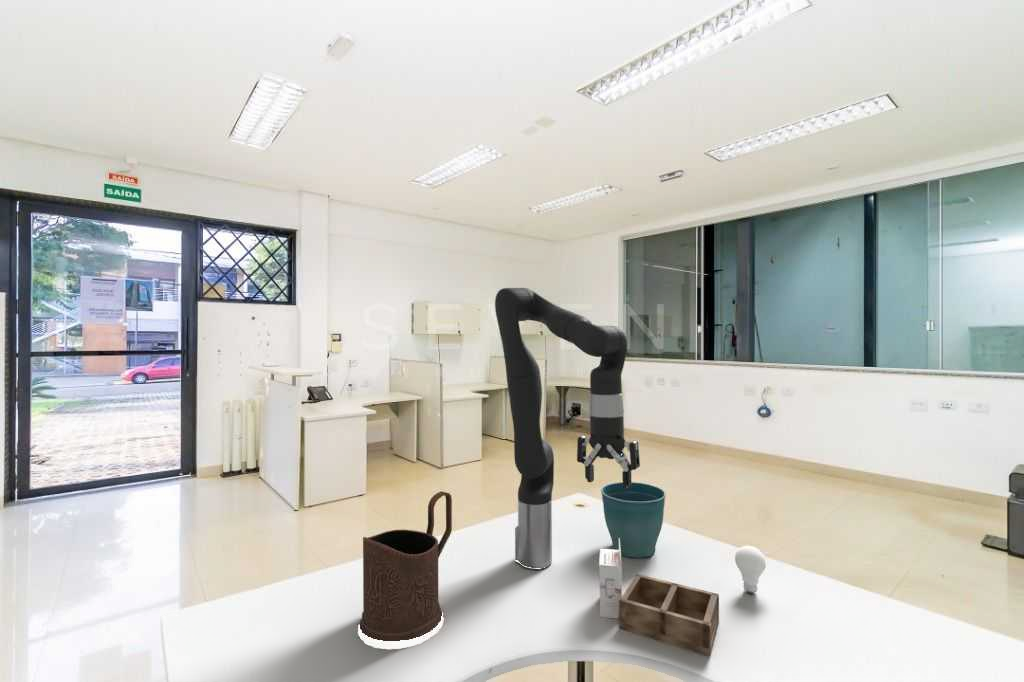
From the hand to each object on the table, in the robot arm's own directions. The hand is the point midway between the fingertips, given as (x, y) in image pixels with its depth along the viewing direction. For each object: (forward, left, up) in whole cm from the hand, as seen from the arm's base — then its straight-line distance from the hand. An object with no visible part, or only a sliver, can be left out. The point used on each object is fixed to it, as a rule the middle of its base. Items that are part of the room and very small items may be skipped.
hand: (608, 484), depth 108 cm
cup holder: (-36, -25, -28) cm, 53 cm away
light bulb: (+28, +23, -28) cm, 46 cm away
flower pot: (-3, +32, -28) cm, 43 cm away
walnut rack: (+14, 0, -28) cm, 31 cm away
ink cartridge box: (+1, 0, -28) cm, 28 cm away
